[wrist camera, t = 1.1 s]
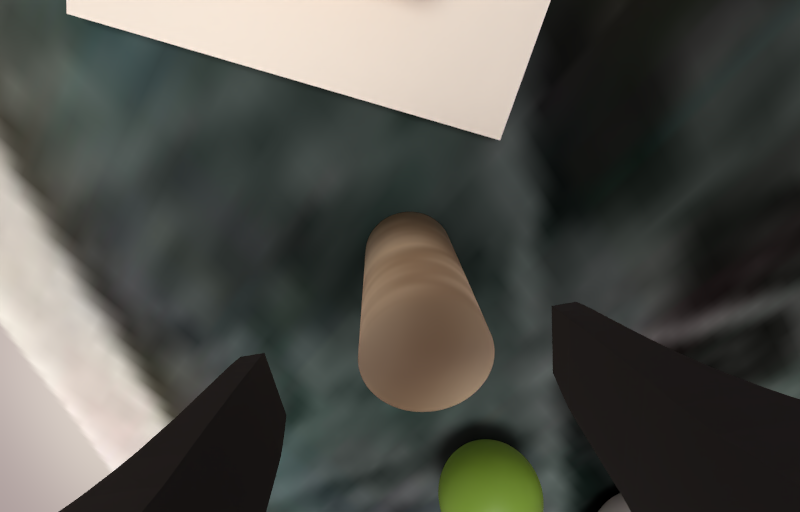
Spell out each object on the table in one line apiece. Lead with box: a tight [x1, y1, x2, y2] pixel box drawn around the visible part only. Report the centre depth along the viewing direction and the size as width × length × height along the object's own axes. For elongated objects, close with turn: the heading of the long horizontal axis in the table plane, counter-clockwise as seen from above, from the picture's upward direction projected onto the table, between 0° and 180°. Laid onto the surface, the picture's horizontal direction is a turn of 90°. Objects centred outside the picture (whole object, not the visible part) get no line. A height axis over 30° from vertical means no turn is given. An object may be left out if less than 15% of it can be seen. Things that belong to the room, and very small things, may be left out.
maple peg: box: [358, 212, 495, 412], centre depth 16 cm, size 4×4×8 cm
